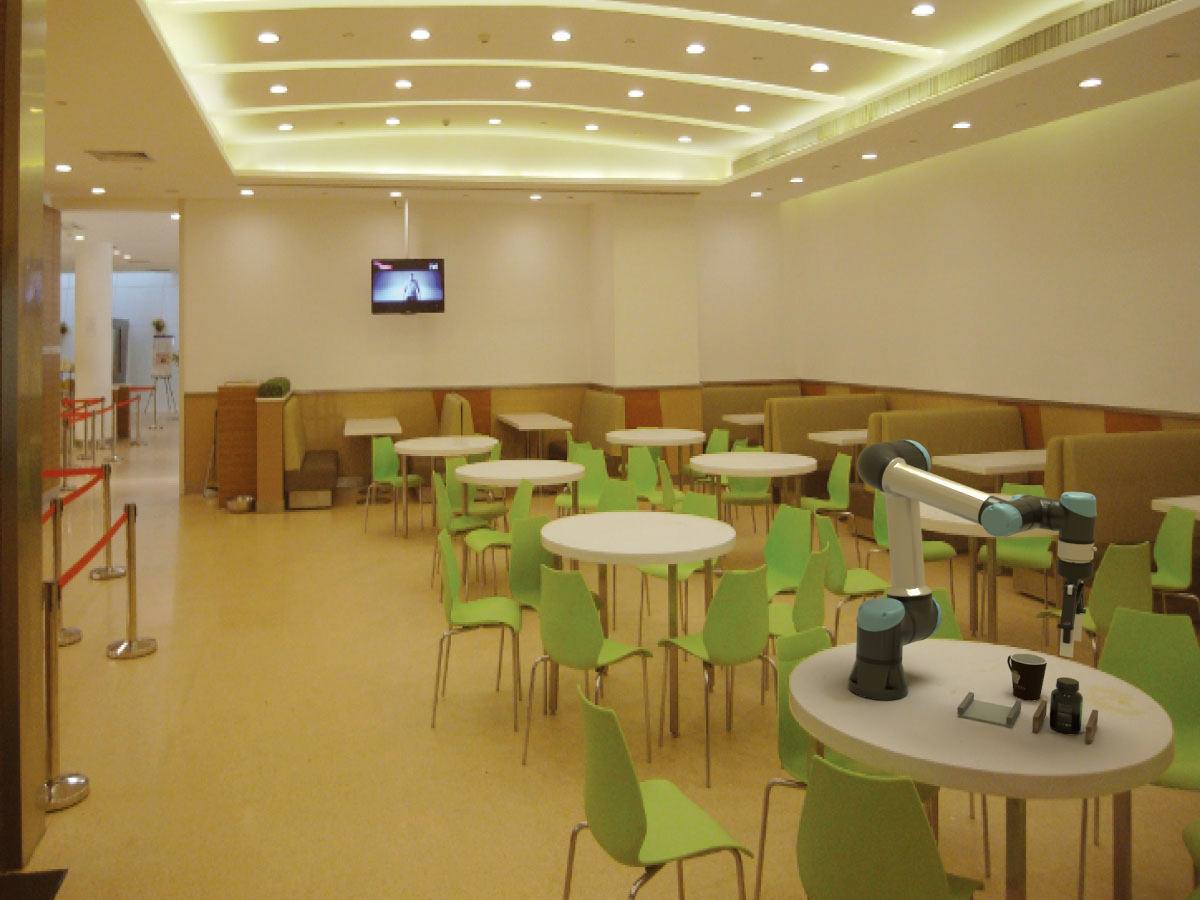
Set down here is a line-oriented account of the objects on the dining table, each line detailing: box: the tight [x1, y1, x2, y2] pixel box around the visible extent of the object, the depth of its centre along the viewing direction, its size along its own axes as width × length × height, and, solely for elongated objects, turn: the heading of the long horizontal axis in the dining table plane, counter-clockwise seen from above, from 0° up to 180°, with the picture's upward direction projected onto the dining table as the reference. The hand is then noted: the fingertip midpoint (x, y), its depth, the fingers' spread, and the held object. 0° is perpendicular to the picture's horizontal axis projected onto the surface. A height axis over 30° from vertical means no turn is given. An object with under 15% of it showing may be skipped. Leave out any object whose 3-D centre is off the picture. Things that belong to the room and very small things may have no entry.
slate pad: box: [957, 691, 1022, 729], centre depth 241 cm, size 12×12×2 cm
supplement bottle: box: [1048, 676, 1084, 736], centre depth 231 cm, size 7×7×12 cm
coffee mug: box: [1006, 652, 1048, 702], centre depth 254 cm, size 12×9×10 cm
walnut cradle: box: [1031, 699, 1099, 745], centre depth 232 cm, size 12×12×4 cm
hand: (1070, 648), depth 230 cm, fingers open, 13 cm apart
